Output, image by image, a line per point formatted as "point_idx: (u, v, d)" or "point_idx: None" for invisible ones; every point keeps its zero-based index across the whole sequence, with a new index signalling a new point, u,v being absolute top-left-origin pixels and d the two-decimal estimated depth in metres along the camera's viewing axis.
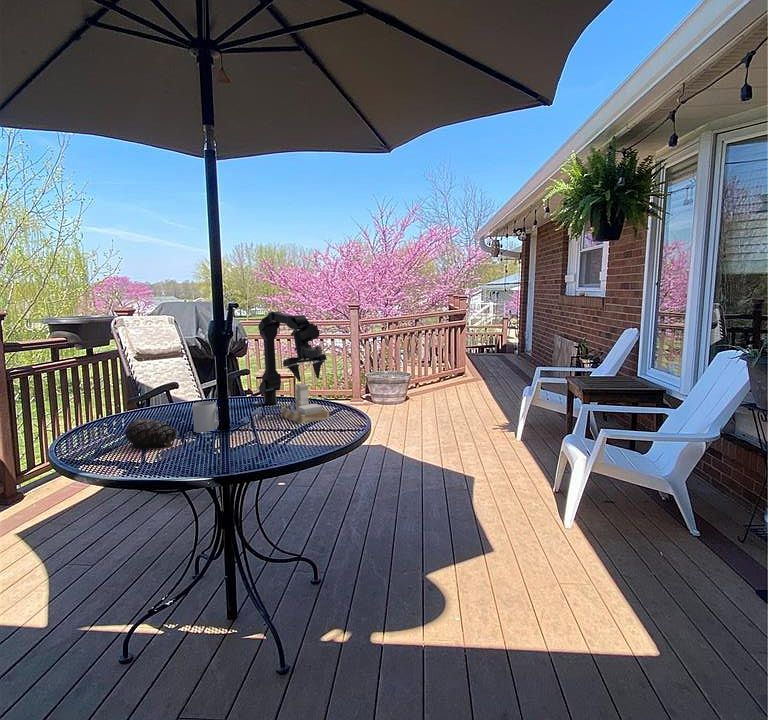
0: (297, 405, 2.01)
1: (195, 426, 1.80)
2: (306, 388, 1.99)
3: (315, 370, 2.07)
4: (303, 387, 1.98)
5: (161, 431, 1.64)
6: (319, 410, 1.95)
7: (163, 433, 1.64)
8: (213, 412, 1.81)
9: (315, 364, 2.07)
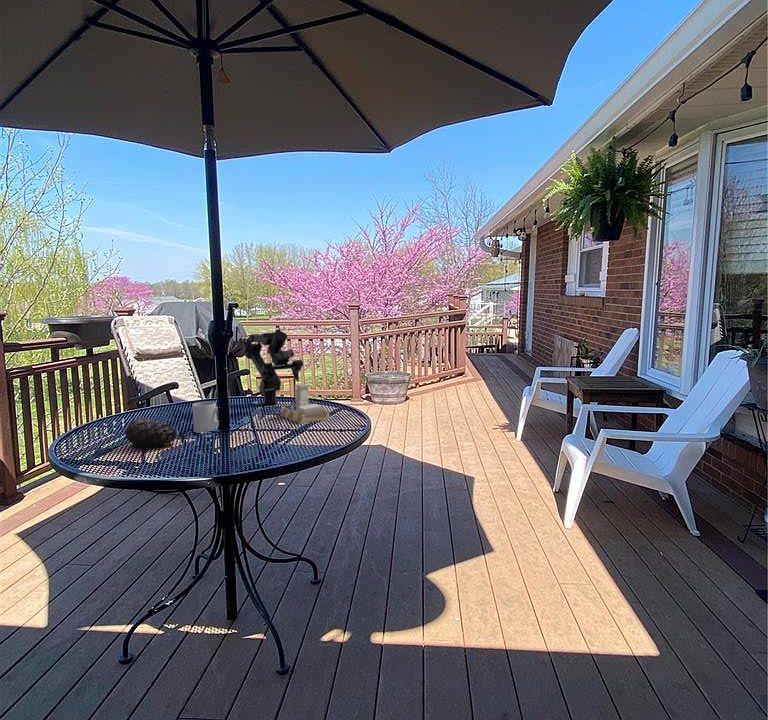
0: (297, 405, 2.01)
1: (195, 426, 1.80)
2: (306, 388, 1.99)
3: (294, 375, 2.15)
4: (303, 387, 1.98)
5: (161, 431, 1.64)
6: (319, 410, 1.95)
7: (163, 433, 1.63)
8: (213, 412, 1.81)
9: (293, 370, 2.16)
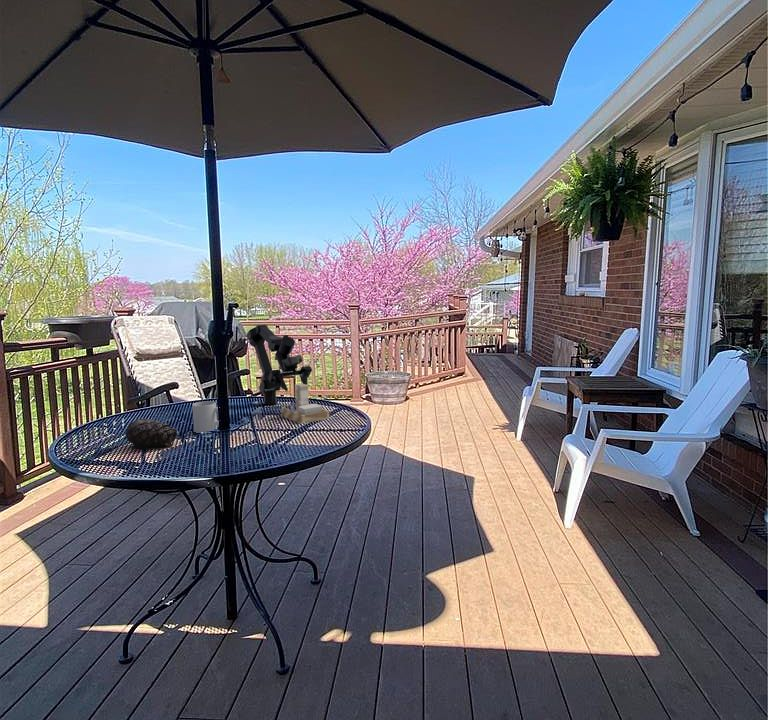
0: (297, 405, 2.01)
1: (195, 426, 1.80)
2: (306, 388, 1.99)
3: (303, 382, 2.09)
4: (303, 387, 1.98)
5: (162, 431, 1.63)
6: (319, 410, 1.95)
7: (164, 433, 1.63)
8: (213, 412, 1.81)
9: (302, 377, 2.10)
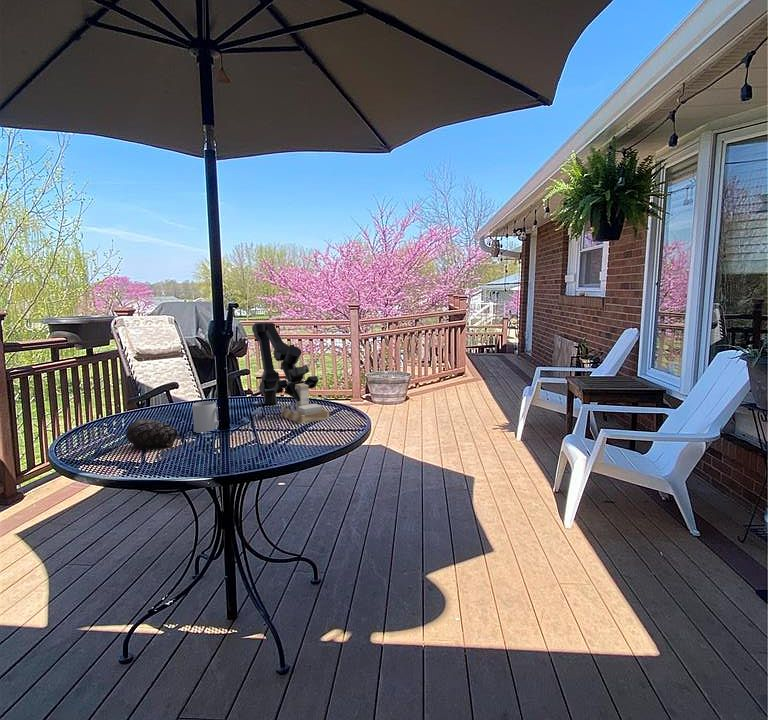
0: (297, 405, 2.01)
1: (195, 426, 1.80)
2: (306, 388, 1.99)
3: None
4: (303, 387, 1.98)
5: (163, 431, 1.63)
6: (319, 410, 1.95)
7: (165, 433, 1.63)
8: (213, 412, 1.81)
9: None
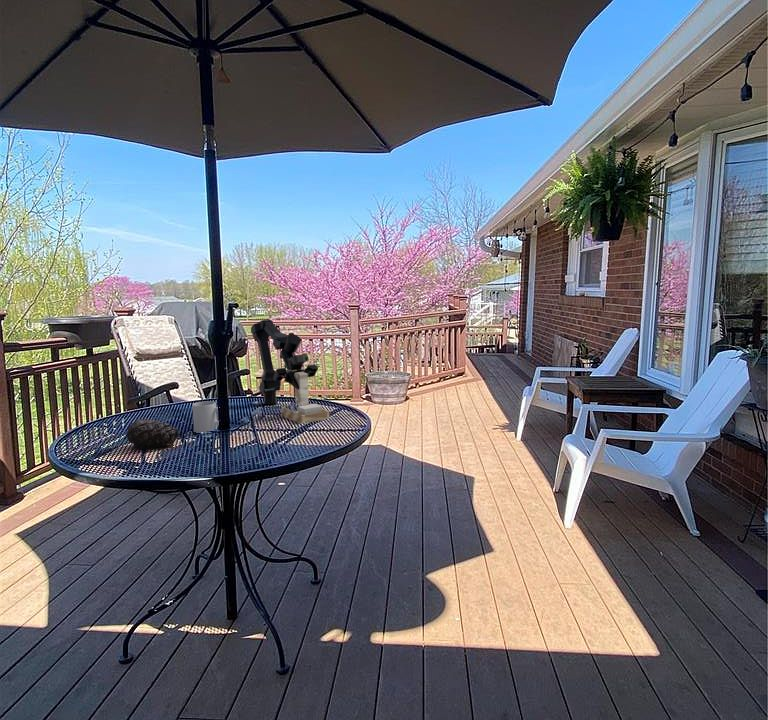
0: (296, 393, 2.00)
1: (195, 426, 1.80)
2: (306, 376, 1.98)
3: None
4: (303, 375, 1.97)
5: (164, 431, 1.63)
6: (319, 410, 1.95)
7: (166, 433, 1.63)
8: (213, 412, 1.81)
9: None
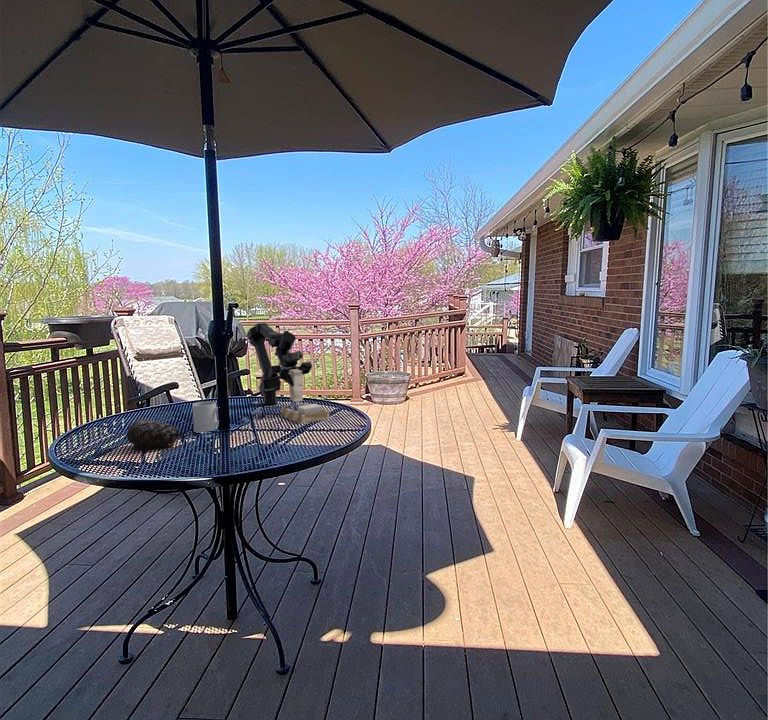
0: (291, 390, 2.05)
1: (195, 426, 1.80)
2: (300, 374, 2.02)
3: None
4: (297, 372, 2.02)
5: (165, 432, 1.63)
6: (319, 410, 1.95)
7: (167, 433, 1.63)
8: (213, 412, 1.81)
9: None
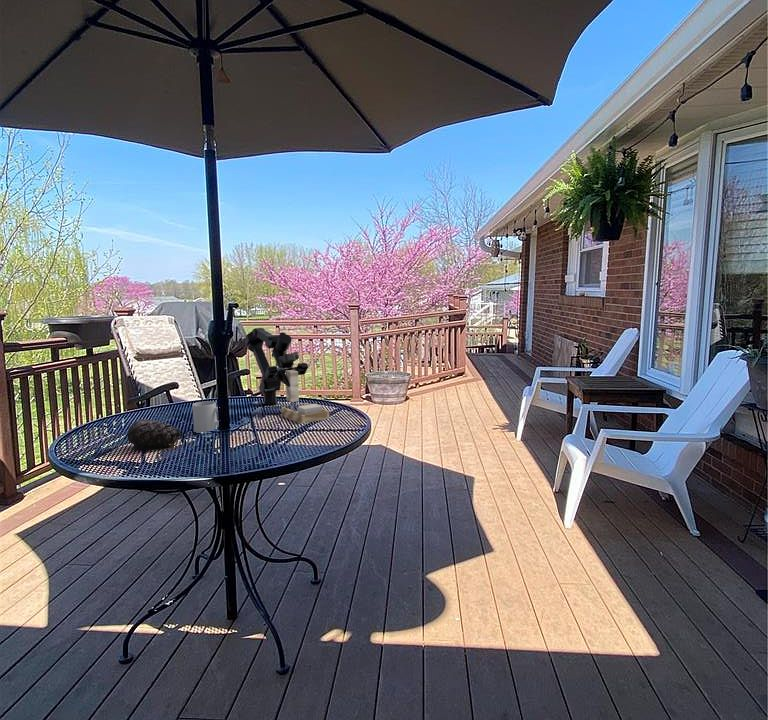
0: (287, 391, 2.08)
1: (195, 426, 1.80)
2: (296, 374, 2.05)
3: None
4: (293, 373, 2.05)
5: (165, 432, 1.63)
6: (319, 410, 1.95)
7: (168, 433, 1.63)
8: (213, 412, 1.81)
9: None
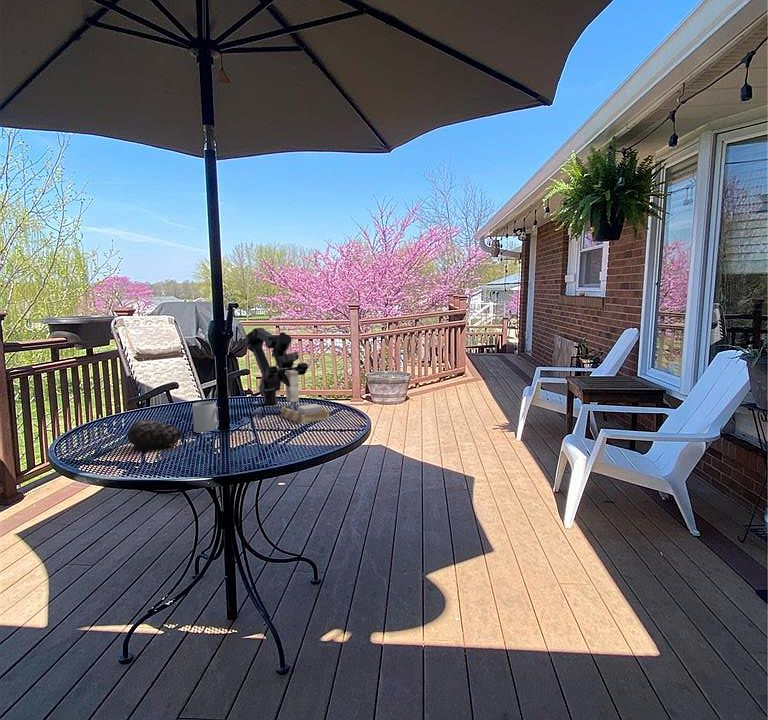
0: (287, 391, 2.08)
1: (195, 426, 1.80)
2: (296, 374, 2.05)
3: None
4: (293, 373, 2.05)
5: (166, 432, 1.63)
6: (319, 410, 1.95)
7: (169, 434, 1.63)
8: (213, 412, 1.81)
9: None
